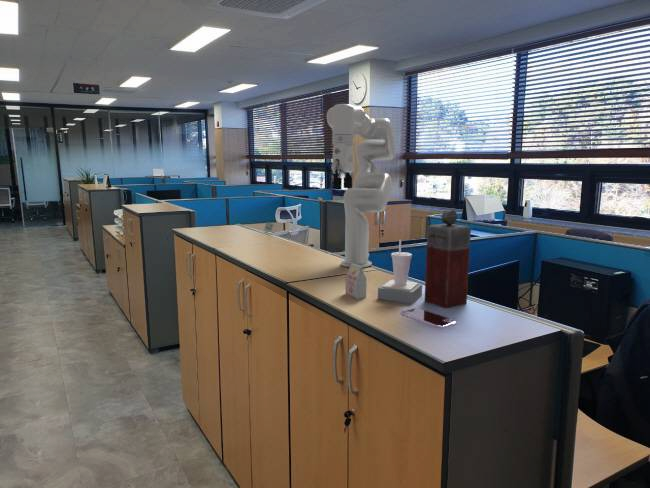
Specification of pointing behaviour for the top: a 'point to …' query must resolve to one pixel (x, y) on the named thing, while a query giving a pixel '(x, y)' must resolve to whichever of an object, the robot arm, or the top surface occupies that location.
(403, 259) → the smoothie
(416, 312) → the mobile phone
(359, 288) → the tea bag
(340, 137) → the robot arm
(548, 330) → the top surface
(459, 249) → the red square canister
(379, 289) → the plinth
